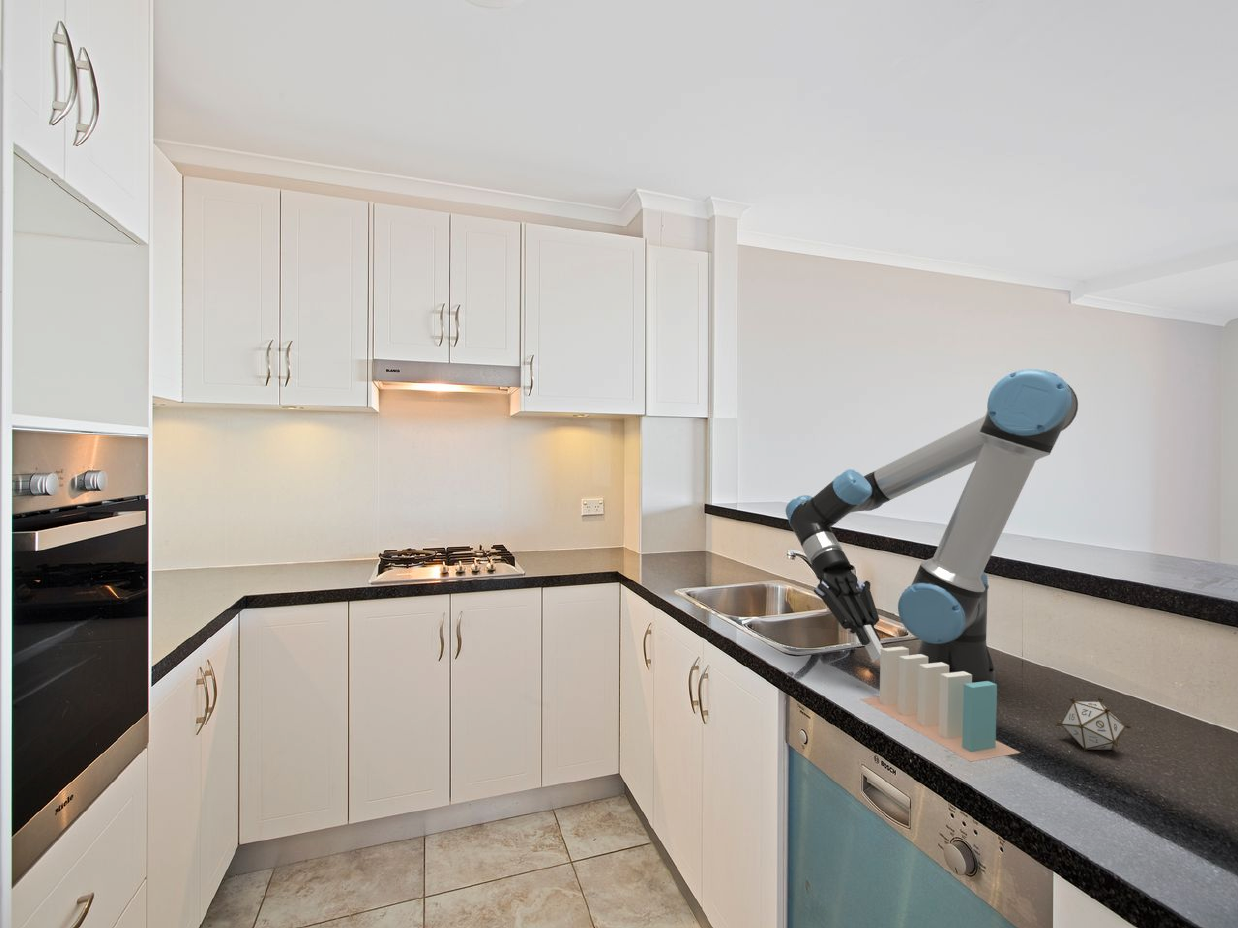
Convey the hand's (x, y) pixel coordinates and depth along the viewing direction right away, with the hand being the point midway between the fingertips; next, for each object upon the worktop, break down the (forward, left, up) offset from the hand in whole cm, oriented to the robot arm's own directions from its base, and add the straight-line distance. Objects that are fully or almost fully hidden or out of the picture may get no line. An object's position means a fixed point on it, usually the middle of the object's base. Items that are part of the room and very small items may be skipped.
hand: (880, 658), depth 114 cm
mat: (-3, +12, -8) cm, 15 cm away
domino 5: (-6, +21, -7) cm, 23 cm away
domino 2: (-2, +8, -7) cm, 11 cm away
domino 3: (-3, +12, -7) cm, 14 cm away
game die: (-25, +20, -8) cm, 33 cm away
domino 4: (-5, +16, -7) cm, 18 cm away
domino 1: (-1, +3, -7) cm, 8 cm away
